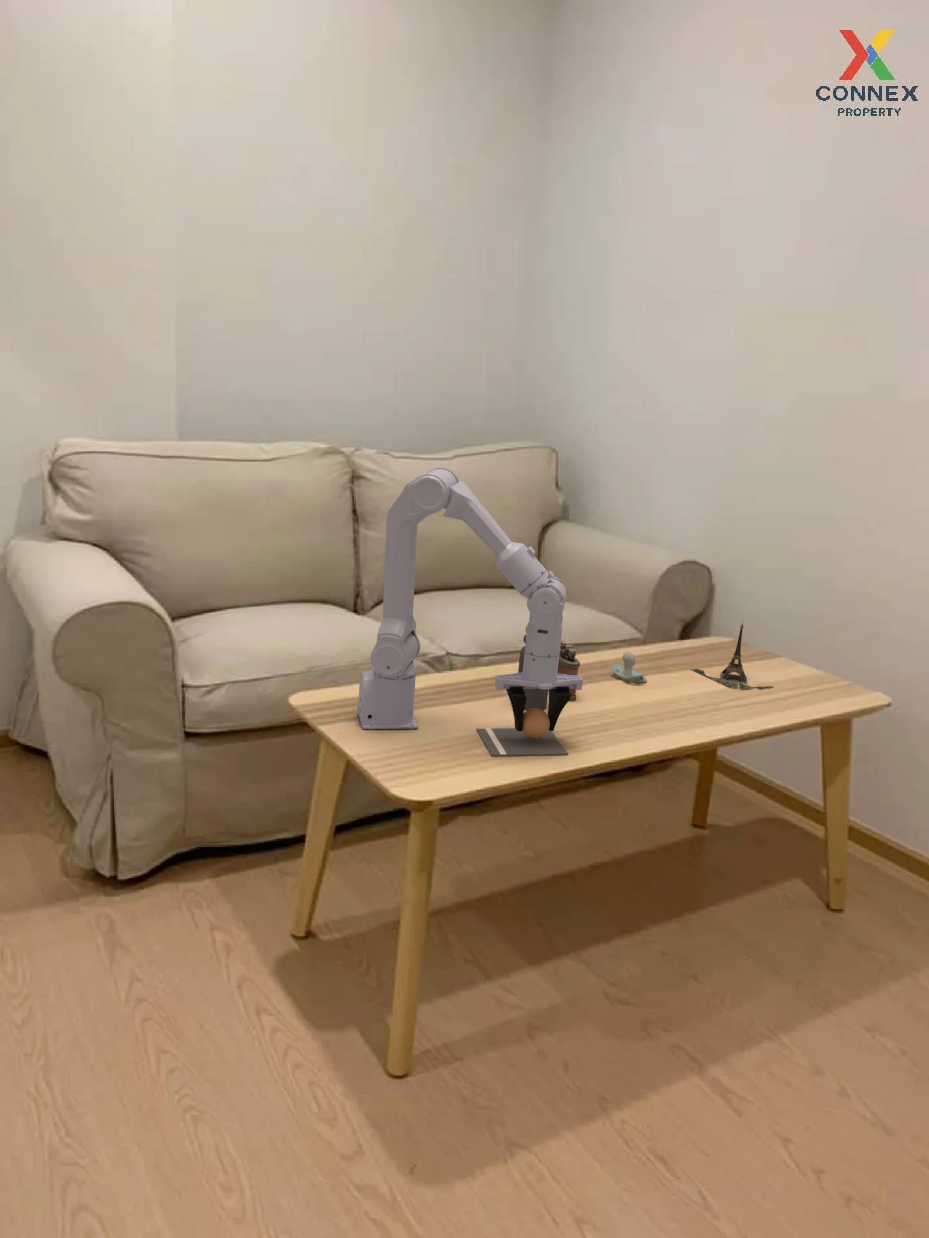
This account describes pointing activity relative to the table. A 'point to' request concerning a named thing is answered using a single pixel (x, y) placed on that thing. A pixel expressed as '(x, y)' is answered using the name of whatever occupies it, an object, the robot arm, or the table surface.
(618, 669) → the pacifier
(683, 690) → the table surface
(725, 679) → the eiffel tower figurine
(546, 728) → the ball
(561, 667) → the lighter
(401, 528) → the robot arm
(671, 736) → the table surface
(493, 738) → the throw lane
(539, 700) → the bottle
